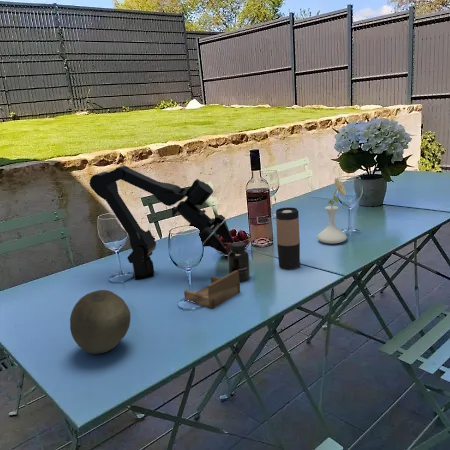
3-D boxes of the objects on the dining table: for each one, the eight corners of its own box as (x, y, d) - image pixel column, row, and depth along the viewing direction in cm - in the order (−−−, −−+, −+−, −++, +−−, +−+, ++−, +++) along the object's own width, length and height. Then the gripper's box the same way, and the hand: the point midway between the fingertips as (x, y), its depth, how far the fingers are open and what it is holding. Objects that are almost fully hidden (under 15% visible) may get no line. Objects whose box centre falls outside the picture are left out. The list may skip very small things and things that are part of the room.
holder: (185, 300, 130) (182, 278, 128) (213, 284, 139) (211, 264, 137) (212, 308, 123) (210, 286, 121) (240, 291, 132) (238, 270, 130)
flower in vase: (335, 248, 162) (334, 182, 156) (311, 242, 171) (309, 180, 164) (355, 239, 171) (355, 176, 164) (331, 234, 179) (330, 174, 172)
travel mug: (273, 267, 149) (270, 211, 144) (286, 260, 154) (284, 206, 149) (292, 271, 144) (289, 214, 138) (304, 264, 149) (303, 208, 144)
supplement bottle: (243, 284, 138) (241, 248, 134) (225, 280, 141) (222, 246, 138) (253, 276, 143) (251, 241, 140) (236, 273, 147) (233, 239, 143)
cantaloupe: (78, 372, 98) (66, 313, 94) (73, 343, 110) (62, 290, 106) (139, 354, 103) (131, 297, 99) (128, 328, 116) (120, 277, 111)
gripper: (189, 224, 152) (221, 253, 152) (169, 241, 134) (206, 274, 134) (208, 201, 147) (241, 232, 147) (189, 216, 130) (228, 250, 130)
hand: (229, 247), depth 140 cm, fingers open, 9 cm apart
